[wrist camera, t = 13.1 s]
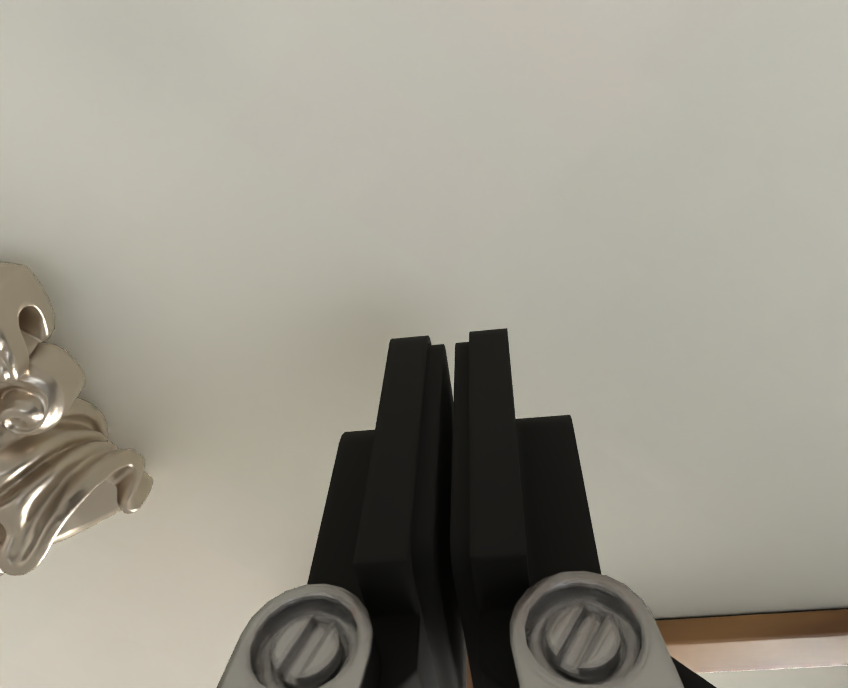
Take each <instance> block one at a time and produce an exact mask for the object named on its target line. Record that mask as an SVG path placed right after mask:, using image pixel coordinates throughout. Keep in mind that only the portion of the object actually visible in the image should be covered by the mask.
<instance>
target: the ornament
mask: <svg viewBox="0 0 848 688" xmlns="http://www.w3.org/2000/svg"><path fill="white" fill-rule="evenodd" d="M54 329H55V318H54V313H53V309H52V306H51V303H50V301H49V298H48V296H47V294H46V293H45V291H44V289H43V287H42V286H41V284H40V283H39V281H38V280H37V279H36V277H35V276H34V275H33V273H32V272H31V270H30V269H29V268H28V267H27V266H24V265H18V264H11V263H0V575H3V574H5V573H6V574H9V575H24V574H27V573H28V572H30V571H31V570H33V569H34V568H36V567H37V566H38V565H39V564H40V562H41V561H42V560H43V558H44V557H45V555H46V554H47V552H48V550H49V549H50V547H51V545H52V544H54V543H57V542H60V541H62V540H65V539H67V538H70V537H72V536H74V535H76V534H78V533H80V532H81V531H83V530H85V529H87V528H89V527H91V526H93V525H95V524H97V523H99V522H100V521H102V520H104V519H106V518H108V517H110V516H112V515H114V514H116V513H117V512H119V511H120V510H121V511H123V512H124V513H127V514H130V513H134V512H136V511H137V510H138V509H140V507H141V506H142V504H143V503H144V501H145V500H146V498H147V497H148V495H149V493H150V491H151V489H152V485H153V478H152V477H151V476H149V475H148V474H147V473H146V472H145V471H144V467H145V462H144V458H143V457H142V456H141V455H140V454H139V453H138V452H136V451H135V450H133V449H120V450H118V449H117V447H116V446H115V445H114V444H112V443H111V442H108V441H107V438H108V428H107V423H106V420H105V418H104V417H103V415H102V414H101V412H100V411H99V410H98V409H97V408H96V407H95V406H93V405H92V404H90V403H88V402H86V401H84V400H81V399H78V398H77V397H78V395H79V393H80V391H81V390H82V388H83V387H84V385H85V379H84V372H83V370H82V368H81V367H80V365H79V364H78V363H77V361H76V360H75V359H74V358H73V357H72V356H71V355H70V354H69V353H68V352H66V351H65V350H64V349H62V348H60V347H58V346H56V345H53V344H50V343H45V342H44V341H46V340H47V339H48V338H49V337H50V336H51V334H52V332H53V330H54Z"/></svg>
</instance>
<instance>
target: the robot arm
mask: <svg viewBox="0 0 848 688" xmlns="http://www.w3.org/2000/svg"><path fill="white" fill-rule="evenodd" d="M467 655H468V661H469V666H470V672H471V677H472V683H473V688H716V687H715V686H713V685H712V684H710V683H709V682H707V681H706V680H705V679H703V678H702V677H700V676H699V675H697V674H696V673H695V672H693V671H692V670H690V669H689V668H687V667H686V666H684V665H683V664H682V663H680V662H679V661H677V660H676V659H674V658H673V657H672V656H670V654H669V651H668V649H667V647H666V644H665V642H664V640H663V637H662V635H661V633H660V630H659V628H658V626H657V623H656V621H655V619H654V617H653V615H652V614H651V612H650V611H649V609H648V607H647V606H646V604H645V603H644V601H643V600H642V599H641V598H640V597H639V596H638V595H637V594H636V593H634V592H633V591H632V590H631V589H630V588H629V587H628V586H626V585H625V584H623V583H621V582H619V581H617V580H614V579H612V578H610V577H608V576H606V575H602V574H601V570H600V565H599V560H598V554H597V549H596V544H595V539H594V533H593V528H592V523H591V518H590V512H589V507H588V502H587V496H586V491H585V486H584V481H583V475H582V470H581V465H580V460H579V454H578V449H577V444H576V439H575V433H574V428H573V423H572V419H571V416H570V415H562V416H549V417H536V418H523V419H515V408H514V397H513V386H512V376H511V365H510V354H509V343H508V332H507V328H506V329H495V330H484V331H473V332H469V342H462V343H456V344H455V371H454V402H453V395H452V389H451V382H450V375H449V369H448V362H447V356H446V350H445V346H444V344H440V345H431V341H430V338H429V336H418V337H408V338H397V339H391V340H390V344H389V350H388V356H387V362H386V368H385V374H384V380H383V386H382V392H381V398H380V404H379V410H378V416H377V422H376V428H375V430H366V431H353V432H345V433H344V434H343V435H342V436H341V439H340V442H339V446H338V451H337V455H336V460H335V464H334V468H333V473H332V477H331V482H330V486H329V491H328V495H327V499H326V504H325V508H324V513H323V517H322V522H321V526H320V531H319V535H318V539H317V544H316V548H315V553H314V557H313V562H312V566H311V570H310V575H309V579H308V584H307V585H304V586H300V587H297V588H294V589H291V590H288V591H285V592H284V593H282V594H280V595H279V596H277V597H275V598H274V599H272V600H270V601H268V602H267V603H266V604H265V605H264V606H263V607H262V608H261V609H260V610H259V611H258V612H257V613H256V614H255V615H254V616H253V617H252V618H251V619H250V621H249V623H248V624H247V626H246V627H245V629H244V631H243V632H242V634H241V635H240V638H239V640H238V642H237V644H236V646H235V649H234V651H233V653H232V655H231V657H230V659H229V662H228V664H227V666H226V668H225V670H224V673H223V675H222V677H221V679H220V681H219V684H218V686H217V688H467Z"/></svg>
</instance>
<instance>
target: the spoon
mask: <svg viewBox="0 0 848 688" xmlns="http://www.w3.org/2000/svg"><path fill="white" fill-rule="evenodd" d="M655 621H656V623H657V626H658V628H659V630H660V633H661V635H662V637H663V640H664V642H665V644H666V647H667V649H668V651H669V654H670V656H672V657H673V658H674V659H676V660H677V661H679V662H680V663H682V664H683V665H684V666H686V667H687V668H689V669H690V670H692V671H693V672H695V673H710V672H730V671H749V670H769V669H788V668H807V667H827V666H846V665H848V609H840V610H823V611H806V612H790V613H773V614H756V615H739V616H722V617H705V618H689V619H672V620H655ZM467 688H473V683H472V677H471V672H470V666H469V661H468V655H467Z"/></svg>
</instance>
